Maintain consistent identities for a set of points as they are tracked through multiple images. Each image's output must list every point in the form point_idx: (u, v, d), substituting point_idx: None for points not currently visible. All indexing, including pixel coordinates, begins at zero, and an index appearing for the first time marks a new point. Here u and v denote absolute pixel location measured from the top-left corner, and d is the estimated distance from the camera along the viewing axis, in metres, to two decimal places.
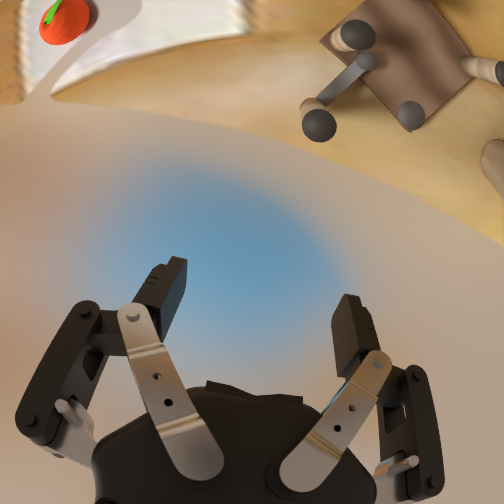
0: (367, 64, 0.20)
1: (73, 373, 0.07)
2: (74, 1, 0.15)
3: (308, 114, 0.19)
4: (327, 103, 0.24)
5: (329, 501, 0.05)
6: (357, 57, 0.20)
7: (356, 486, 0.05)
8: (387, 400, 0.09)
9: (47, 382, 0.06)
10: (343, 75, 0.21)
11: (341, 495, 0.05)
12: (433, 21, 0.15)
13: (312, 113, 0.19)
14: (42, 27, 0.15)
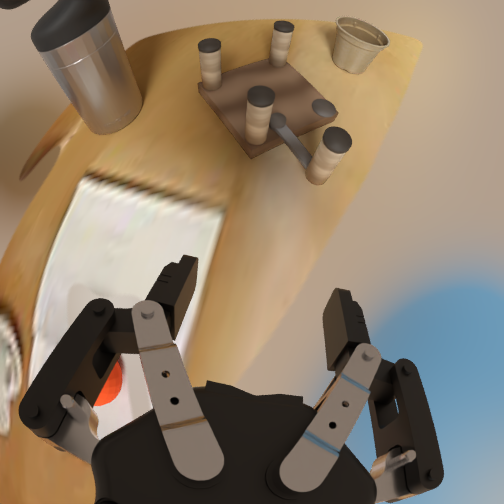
0: (280, 119, 0.30)
1: (82, 370, 0.07)
2: None
3: (327, 141, 0.22)
4: None
5: (330, 503, 0.05)
6: (273, 125, 0.30)
7: (356, 486, 0.05)
8: (377, 394, 0.09)
9: (54, 377, 0.06)
10: (288, 140, 0.30)
11: (341, 495, 0.05)
12: (241, 74, 0.33)
13: (327, 139, 0.22)
14: None
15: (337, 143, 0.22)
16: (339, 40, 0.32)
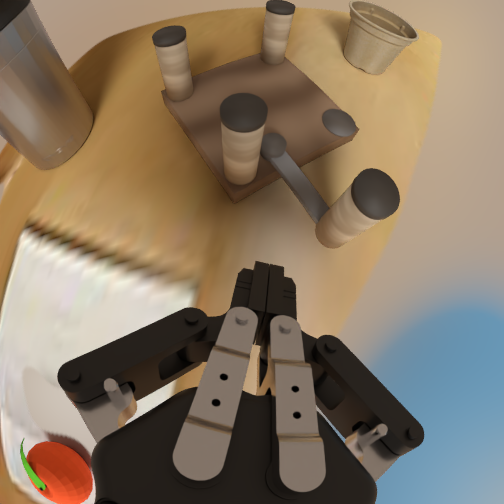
0: (278, 144, 0.20)
1: (143, 366, 0.08)
2: (37, 448, 0.13)
3: (361, 200, 0.13)
4: (326, 208, 0.20)
5: None
6: (267, 153, 0.20)
7: (356, 486, 0.05)
8: None
9: (112, 359, 0.07)
10: (290, 177, 0.20)
11: (341, 495, 0.05)
12: (222, 76, 0.24)
13: (360, 194, 0.13)
14: (46, 495, 0.10)
15: (377, 202, 0.13)
16: (354, 30, 0.23)
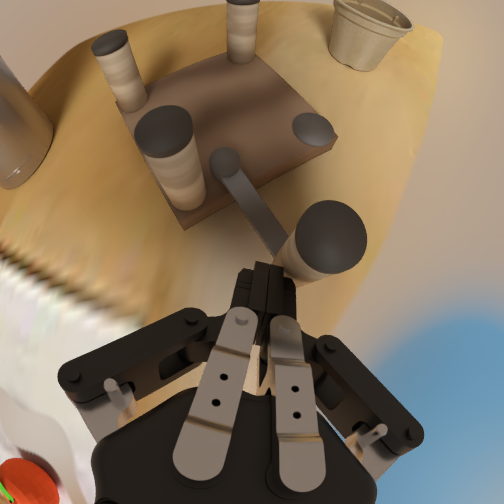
0: (229, 161, 0.17)
1: (143, 366, 0.08)
2: (6, 464, 0.10)
3: (304, 250, 0.09)
4: (286, 238, 0.17)
5: None
6: (216, 173, 0.17)
7: (356, 486, 0.05)
8: None
9: (112, 359, 0.07)
10: (243, 201, 0.17)
11: (341, 495, 0.05)
12: (181, 80, 0.21)
13: (304, 241, 0.10)
14: None
15: (330, 251, 0.10)
16: (339, 20, 0.20)
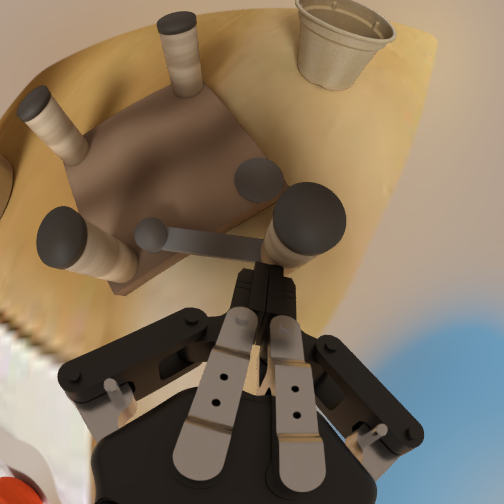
0: (154, 230, 0.16)
1: (143, 366, 0.08)
2: None
3: (305, 250, 0.09)
4: (255, 241, 0.17)
5: None
6: (154, 249, 0.16)
7: (356, 486, 0.05)
8: None
9: (112, 359, 0.07)
10: (196, 248, 0.16)
11: (341, 495, 0.05)
12: (122, 124, 0.19)
13: (299, 243, 0.09)
14: None
15: (322, 230, 0.10)
16: (304, 33, 0.18)
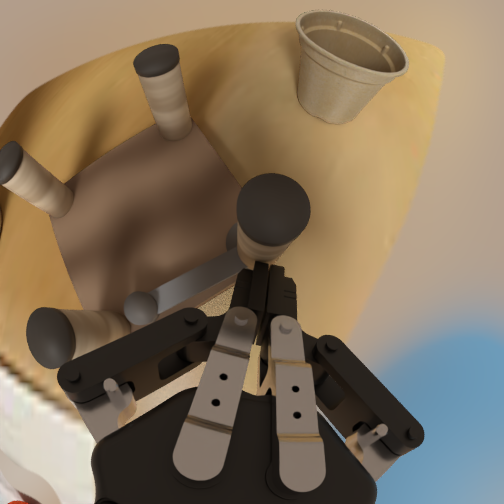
0: (141, 303, 0.15)
1: (143, 366, 0.08)
2: None
3: (289, 238, 0.10)
4: (230, 253, 0.17)
5: None
6: (153, 318, 0.15)
7: (356, 486, 0.05)
8: None
9: (112, 359, 0.07)
10: (186, 293, 0.16)
11: (341, 495, 0.05)
12: (106, 172, 0.18)
13: (280, 237, 0.10)
14: None
15: (291, 212, 0.10)
16: (305, 61, 0.17)
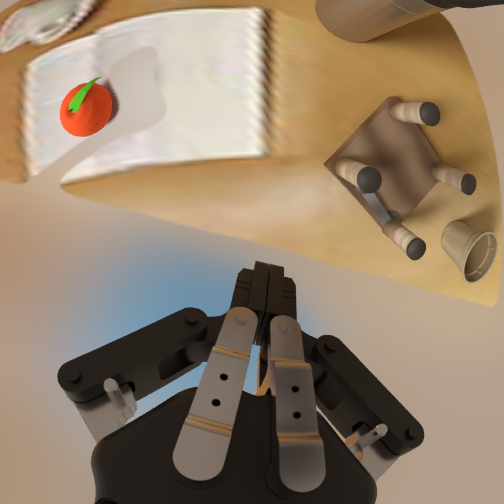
0: None
1: (143, 366, 0.08)
2: (100, 90, 0.23)
3: (409, 256, 0.29)
4: (388, 217, 0.34)
5: None
6: (360, 192, 0.32)
7: (356, 486, 0.05)
8: None
9: (112, 359, 0.07)
10: (371, 203, 0.33)
11: (341, 495, 0.05)
12: (414, 138, 0.30)
13: (410, 254, 0.29)
14: (66, 114, 0.22)
15: (415, 255, 0.29)
16: (469, 232, 0.33)
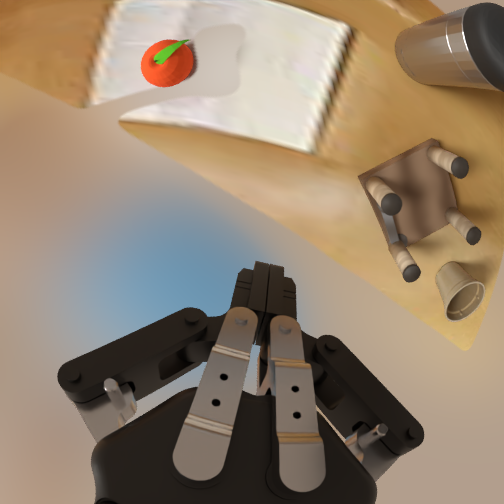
0: None
1: (143, 366, 0.08)
2: (187, 51, 0.26)
3: (404, 277, 0.33)
4: (397, 238, 0.38)
5: None
6: (380, 210, 0.36)
7: (356, 486, 0.05)
8: None
9: (112, 359, 0.07)
10: (386, 222, 0.37)
11: (341, 495, 0.05)
12: (441, 181, 0.33)
13: (405, 275, 0.33)
14: (149, 62, 0.25)
15: (409, 278, 0.33)
16: (462, 276, 0.37)
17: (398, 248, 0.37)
